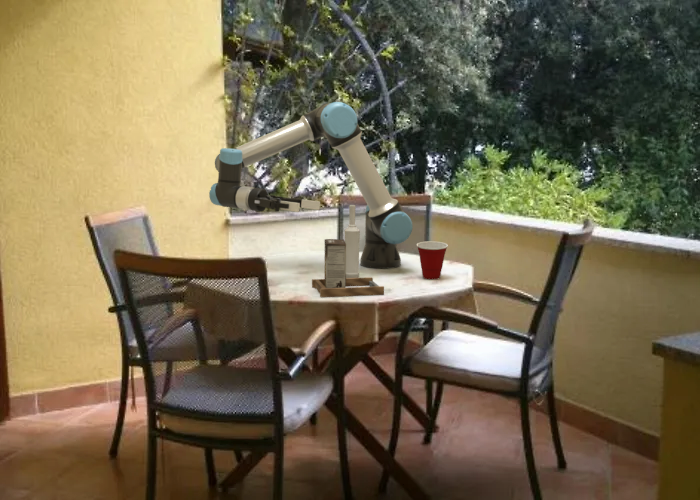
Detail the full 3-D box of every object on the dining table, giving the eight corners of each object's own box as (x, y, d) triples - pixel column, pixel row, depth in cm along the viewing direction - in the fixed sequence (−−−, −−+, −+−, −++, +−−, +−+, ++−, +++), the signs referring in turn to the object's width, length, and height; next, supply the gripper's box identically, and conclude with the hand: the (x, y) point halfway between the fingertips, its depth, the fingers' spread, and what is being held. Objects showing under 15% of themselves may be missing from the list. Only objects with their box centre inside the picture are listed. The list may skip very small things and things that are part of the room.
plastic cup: (415, 280, 269) (415, 245, 267) (415, 274, 280) (416, 240, 278) (447, 281, 268) (448, 246, 266) (447, 275, 279) (447, 241, 277)
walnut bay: (371, 284, 262) (371, 277, 262) (383, 294, 247) (384, 286, 247) (312, 287, 258) (312, 279, 257) (320, 297, 243) (320, 289, 242)
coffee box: (323, 288, 256) (324, 238, 253) (343, 288, 256) (344, 238, 254) (325, 294, 247) (325, 243, 244) (346, 294, 247) (346, 243, 245)
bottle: (361, 277, 275) (362, 205, 270) (356, 279, 270) (357, 206, 266) (347, 275, 276) (347, 204, 272) (342, 278, 271) (342, 205, 267)
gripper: (271, 208, 273) (326, 216, 264) (230, 212, 251) (288, 220, 242) (273, 186, 272) (328, 193, 263) (232, 188, 250) (290, 196, 241)
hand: (309, 206), depth 253 cm, fingers open, 13 cm apart
